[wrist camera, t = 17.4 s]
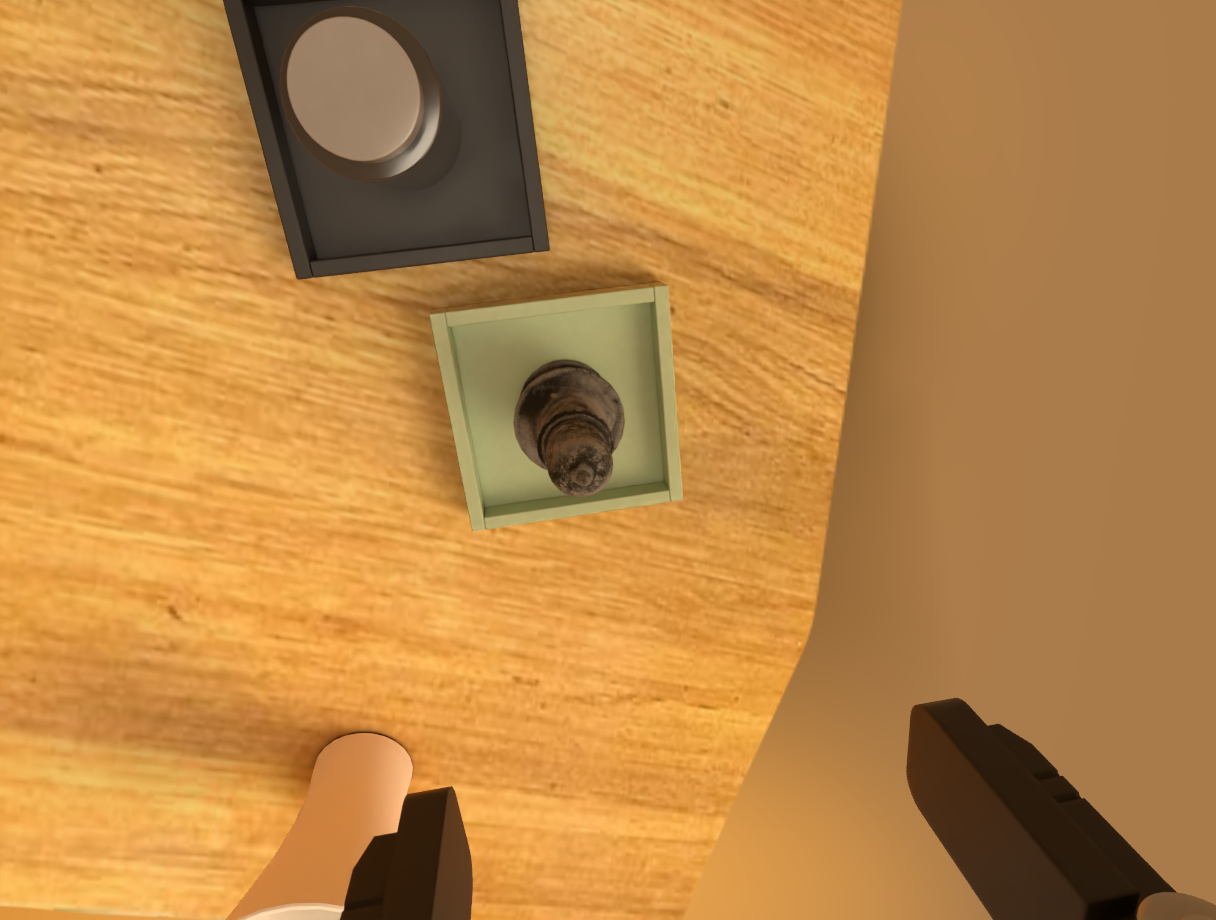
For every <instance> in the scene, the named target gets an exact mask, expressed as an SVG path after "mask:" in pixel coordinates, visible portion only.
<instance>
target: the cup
mask: <svg viewBox="0 0 1216 920" xmlns="http://www.w3.org/2000/svg"><path fill="white" fill-rule="evenodd" d="M412 770H413V766H412V762H411V759H410V756H409V755H408V753H407V752H406V751H405V749H404V748H403V747H402V746H400V745H399V744H398V743H397V742H395V741H393V740H391V739H389V738H387V737H385V736H381V735H377V734H373V733H357V734H351V735H346V736H344V737H341V738H339V739H336V740H334V741H333V742H331V743H330V744H329V745H327V746H326V747H325V748H324V749H323V750H322V752H321V753H320V754H319V755H318V758H317V761H316V763H315V767H314V771H313V775H312V779H311V783H310V787H309V791H308V795H307V797H306V799H305V801H304V803H303V806H302V808H301V810H300V812H299V814H298V817H297V819H296V821H295V823H294V824H293V826H292V828H291V829H290V831H289V833H288V834H287V836H286V838H285V839H284V841H283V843H282V844H281V846H280V848H279V849H278V851H277V853H276V855H275V856H274V858H273V859H272V860H271V862H270V863H269V864H268V865H267V867H266V868H265V869H264V871H263V872H262V873H261V875H260V876H259V877H258V879H257V880H256V881H255V883H254V884H253V885H252V886H251V888H250V889H249V890H248V892H247V893H246V894H245V896H244V897H243V898H242V900H241V901H240V902H239V903H238V905H237V906H236V907H235V909H234V910H233V911H232V912H231V914H230V915H229V916H228V917H227V919H226V920H340V917H341V913H342V911H344V902H345V898H346V894H347V890H348V886H349V883H350V879H351V875H352V871H353V868H354V867H355V865H356V864H357V862H358V860H359V859H360V857H361V856H362V854H363V853H364V851H365V850H366V848H367V847H368V845H369V843H370V842H371V840H372V839H373V837H374V836H379V835H384V834H390V833H395V832H397V830H398V825H399V820H400V815H401V810H402V805H403V801H404V799H405V797H406V794H407V791H408V787H409V784H410V781H411V778H412Z"/></svg>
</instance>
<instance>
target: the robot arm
mask: <svg viewBox="0 0 1216 920" xmlns="http://www.w3.org/2000/svg"><path fill="white" fill-rule="evenodd" d="M907 780H908V784H909V788H910V791H911V794H912V796H913V799H914V801H915V803H916V805H917V807H918V808H919V810H920V812H921V813H922V815H923V816H924V818H925V819H926V821H927V822H928V824H929V825H930V827H931V828H932V829H933V831H934V832H935V834H936V835H937V837H938V838H939V840H940V841H941V843H942V844H943V846H944V847H945V849H946V850H947V852H948V853H949V855H950V856H951V858H952V859H953V861H954V862H955V864H956V865H957V867H958V868H959V870H960V871H961V873H962V874H963V875H964V877H965V878H966V880H967V881H968V883H969V884H970V886H971V887H972V889H973V890H974V892H975V893H976V895H977V896H978V898H979V899H980V901H981V902H982V904H983V905H984V907H985V908H986V910H987V911H988V913H989V914H990V916H991V917H992V919H993V920H1216V905H1214V904H1212V903H1210V902H1207V901H1205V900H1202V899H1199V898H1197V897H1194V896H1190V895H1186V894H1182V893H1177V892H1176V891H1175V890H1174V889H1173V888H1172V887H1171V886H1170V885H1169V884H1167V883H1166V882H1165V881H1164V880H1163V879H1162V878H1161V876H1159V874H1158V873H1157V872H1156V871H1155V870H1154V869H1153V868H1152V867H1151V866H1150V865H1149V864H1148V863H1147V862H1146V861H1145V860H1144V859H1143V858H1142V857H1141V856H1140V855H1139V854H1138V853H1137V852H1136V851H1135V850H1134V849H1133V848H1132V847H1131V846H1130V845H1129V844H1128V843H1127V842H1126V841H1125V839H1124V838H1123V837H1122V836H1121V835H1120V834H1119V833H1118V832H1117V831H1116V830H1115V829H1114V828H1113V827H1112V826H1111V825H1110V824H1109V823H1108V822H1107V821H1106V820H1105V819H1104V818H1103V817H1102V816H1101V815H1100V814H1099V813H1098V812H1097V811H1096V810H1095V809H1094V808H1093V807H1092V806H1091V805H1090V803H1089V802H1088V801H1087V800H1086V799H1085V798H1083V799H1082V798H1081V797H1080V796H1079V792H1078V791H1077V790H1076V789H1075V788H1074V787H1073V786H1072V785H1071V784H1070V783H1069V782H1068V781H1067V780H1066V779H1065V778H1064V777H1063V776H1059V774H1058V771H1057V770H1056V768H1055V767H1054V766H1053V765H1052V764H1051V763H1050V762H1049V761H1048V760H1047V759H1046V758H1045V757H1044V756H1043V755H1042V754H1041V753H1040V752H1039V751H1038V750H1037V749H1036V748H1035V747H1034V746H1033V745H1032V744H1031V743H1029V742H1028V741H1026V740H1024V739H1023V738H1021V737H1019V736H1018V735H1016V734H1014V733H1013V732H1011V731H1010V730H1008V729H1006V728H1005V727H1003V726H1002V725H1000V724H995V725H990V726H987V725H986V724H985V723H984V722H983V721H982V720H981V718H980V717H979V716H978V715H977V714H976V713H975V712H974V711H973V710H972V709H971V708H970V706H969V705H968V704H967V703H966V702H964V701H963V700H961V699H959V698H953V699H947V700H941V701H935V702H930V703H924V704H919V705H915V706H914V707H913V708H912V711H911V717H910V730H909V744H908V755H907ZM472 890H473V878H472V863H471V855H470V850H469V845H468V841H467V837H466V833H465V829H464V825H463V821H462V817H461V813H460V810H459V806H458V802H457V798H456V794H455V791H454V789H453V787H452V786H451V787H445V788H440V789H434V790H429V791H423V792H418V793H412V794H407V795H406V797H405V799H404V801H403V805H402V810H401V815H400V820H399V825H398V830H397V832H395V833H390V834H384V835H379V836H374V837H373V839H372V840H371V842H370V843H369V845H368V847H367V848H366V850H365V851H364V853H363V854H362V856H361V857H360V859H359V860H358V862H357V864H356V865H355V867H354V868H353V871H352V875H351V879H350V883H349V886H348V890H347V894H346V898H345V902H344V911H342V913H341V917H340V920H470V919H471V906H472Z"/></svg>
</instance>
